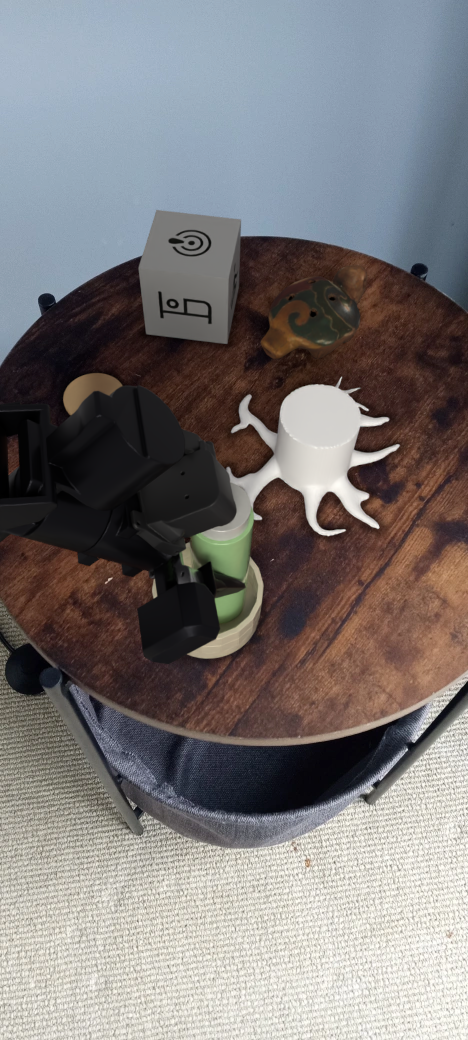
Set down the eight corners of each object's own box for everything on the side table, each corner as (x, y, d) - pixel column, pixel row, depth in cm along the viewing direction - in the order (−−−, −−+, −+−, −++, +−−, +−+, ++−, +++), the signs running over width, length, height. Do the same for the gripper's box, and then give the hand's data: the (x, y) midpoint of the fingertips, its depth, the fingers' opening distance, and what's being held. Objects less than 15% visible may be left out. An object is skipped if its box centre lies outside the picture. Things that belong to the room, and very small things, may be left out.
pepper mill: (199, 628, 67) (195, 540, 52) (188, 581, 69) (181, 484, 54) (251, 617, 67) (262, 527, 53) (238, 570, 70) (246, 472, 55)
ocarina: (382, 327, 89) (396, 279, 82) (298, 397, 84) (304, 354, 77) (324, 283, 92) (332, 234, 85) (240, 350, 87) (241, 304, 80)
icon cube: (146, 334, 88) (138, 267, 79) (162, 277, 93) (156, 209, 84) (227, 344, 87) (228, 278, 78) (238, 286, 92) (241, 219, 83)
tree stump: (423, 429, 81) (443, 381, 74) (361, 567, 72) (377, 527, 65) (263, 367, 85) (267, 316, 78) (185, 490, 76) (182, 445, 69)
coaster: (68, 428, 80) (67, 425, 80) (60, 381, 84) (59, 378, 83) (130, 417, 81) (129, 414, 81) (120, 371, 85) (119, 368, 84)
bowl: (167, 669, 66) (164, 651, 62) (148, 573, 71) (143, 550, 67) (271, 646, 68) (275, 626, 63) (245, 553, 73) (247, 529, 68)
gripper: (184, 584, 42) (337, 625, 53) (145, 350, 51) (282, 425, 62) (71, 652, 48) (230, 677, 59) (54, 431, 57) (194, 488, 68)
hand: (236, 560), depth 62 cm, fingers closed on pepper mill, 5 cm apart
